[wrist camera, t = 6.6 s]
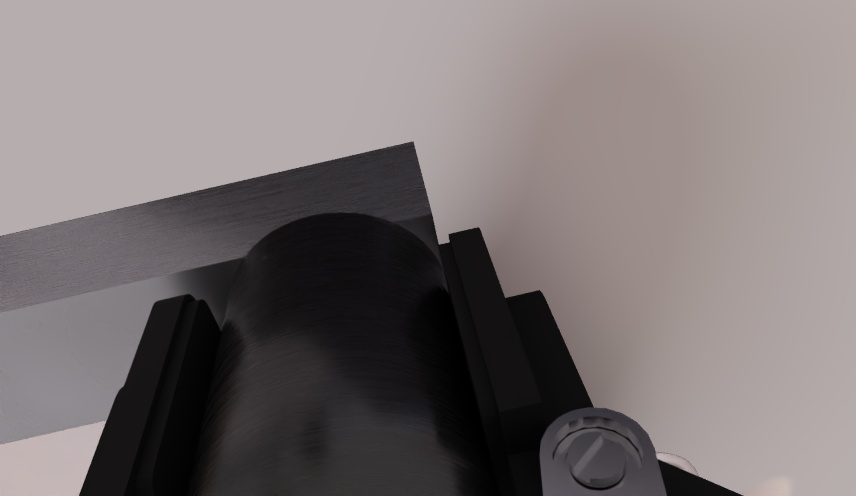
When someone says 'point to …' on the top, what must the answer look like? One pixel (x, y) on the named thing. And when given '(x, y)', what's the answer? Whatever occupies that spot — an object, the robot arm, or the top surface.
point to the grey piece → (262, 330)
